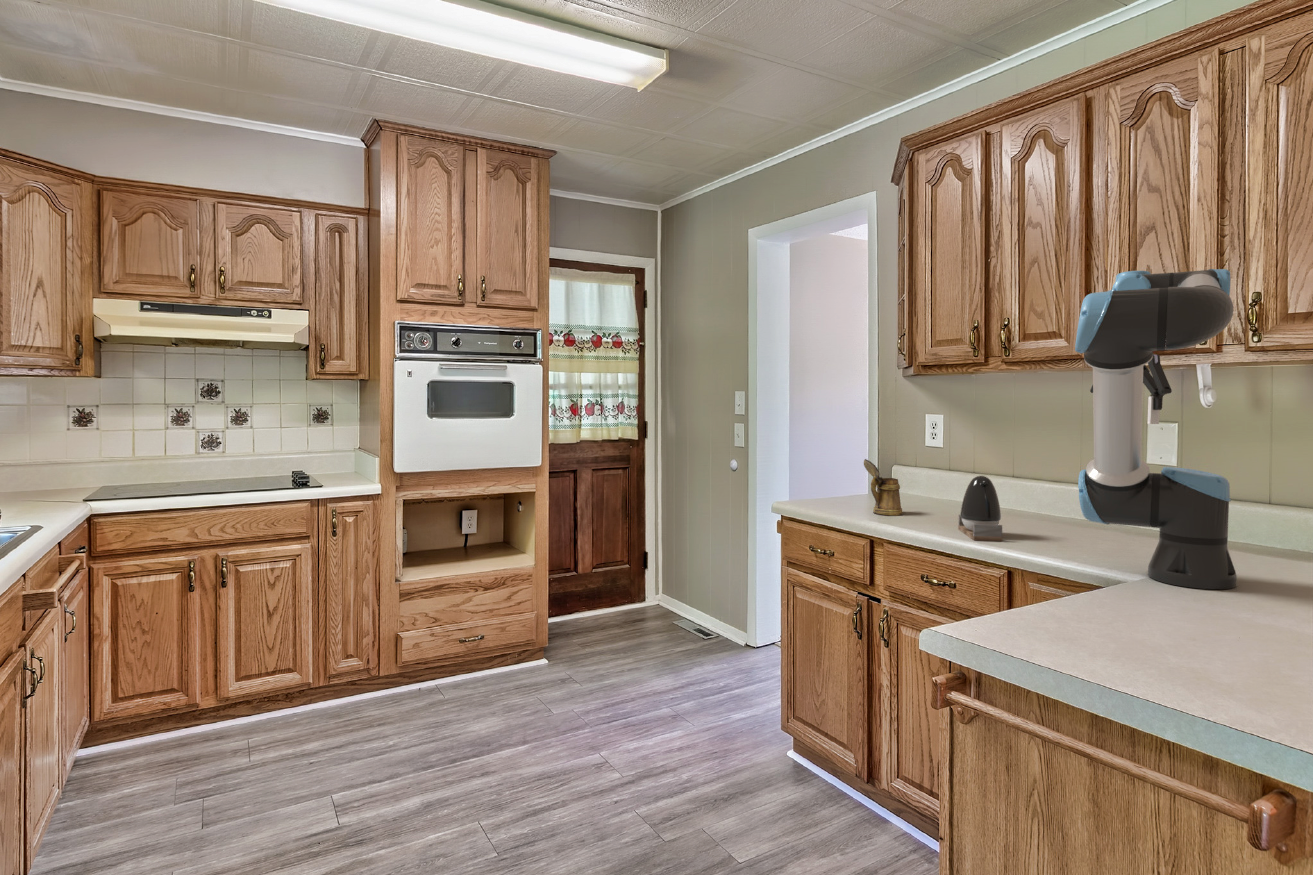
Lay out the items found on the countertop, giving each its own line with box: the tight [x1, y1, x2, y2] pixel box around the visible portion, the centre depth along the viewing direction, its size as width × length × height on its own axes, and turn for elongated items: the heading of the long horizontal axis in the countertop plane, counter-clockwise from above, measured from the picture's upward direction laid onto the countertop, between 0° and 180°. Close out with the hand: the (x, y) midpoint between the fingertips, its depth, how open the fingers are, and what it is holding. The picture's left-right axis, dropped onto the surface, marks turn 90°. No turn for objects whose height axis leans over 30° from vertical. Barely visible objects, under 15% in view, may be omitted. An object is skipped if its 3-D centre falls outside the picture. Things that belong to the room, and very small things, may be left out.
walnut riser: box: [957, 514, 1003, 542], centre depth 206 cm, size 16×7×4 cm, turn 172°
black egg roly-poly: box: [959, 475, 1002, 531], centre depth 205 cm, size 10×10×15 cm
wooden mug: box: [863, 458, 904, 517], centre depth 240 cm, size 9×14×18 cm, turn 109°
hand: (1127, 422), depth 185 cm, fingers open, 13 cm apart
